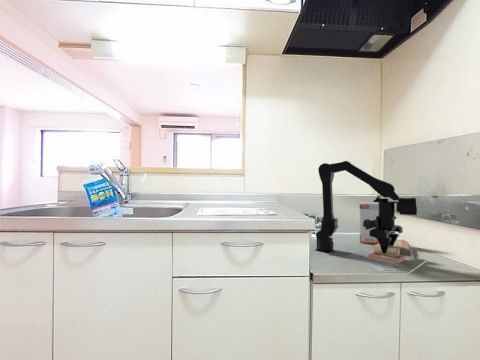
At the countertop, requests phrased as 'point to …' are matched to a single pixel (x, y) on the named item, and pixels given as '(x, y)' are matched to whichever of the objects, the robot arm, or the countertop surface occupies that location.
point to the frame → (397, 260)
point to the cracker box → (369, 212)
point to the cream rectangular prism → (390, 251)
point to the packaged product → (404, 248)
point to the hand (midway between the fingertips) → (386, 252)
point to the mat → (370, 259)
